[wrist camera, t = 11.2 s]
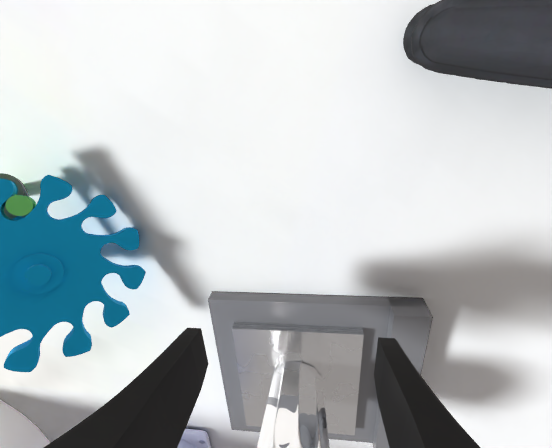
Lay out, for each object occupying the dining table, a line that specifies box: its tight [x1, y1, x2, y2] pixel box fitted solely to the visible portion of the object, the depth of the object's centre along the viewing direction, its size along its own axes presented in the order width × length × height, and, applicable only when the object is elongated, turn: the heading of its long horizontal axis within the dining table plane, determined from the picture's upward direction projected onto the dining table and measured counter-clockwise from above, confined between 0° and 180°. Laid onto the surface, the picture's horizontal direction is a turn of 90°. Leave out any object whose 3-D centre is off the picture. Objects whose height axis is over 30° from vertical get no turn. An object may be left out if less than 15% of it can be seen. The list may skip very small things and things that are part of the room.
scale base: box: [208, 292, 433, 448], centre depth 20 cm, size 13×13×2 cm
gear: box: [0, 174, 145, 372], centre depth 17 cm, size 11×6×10 cm
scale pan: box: [232, 322, 364, 435], centre depth 20 cm, size 10×8×1 cm
